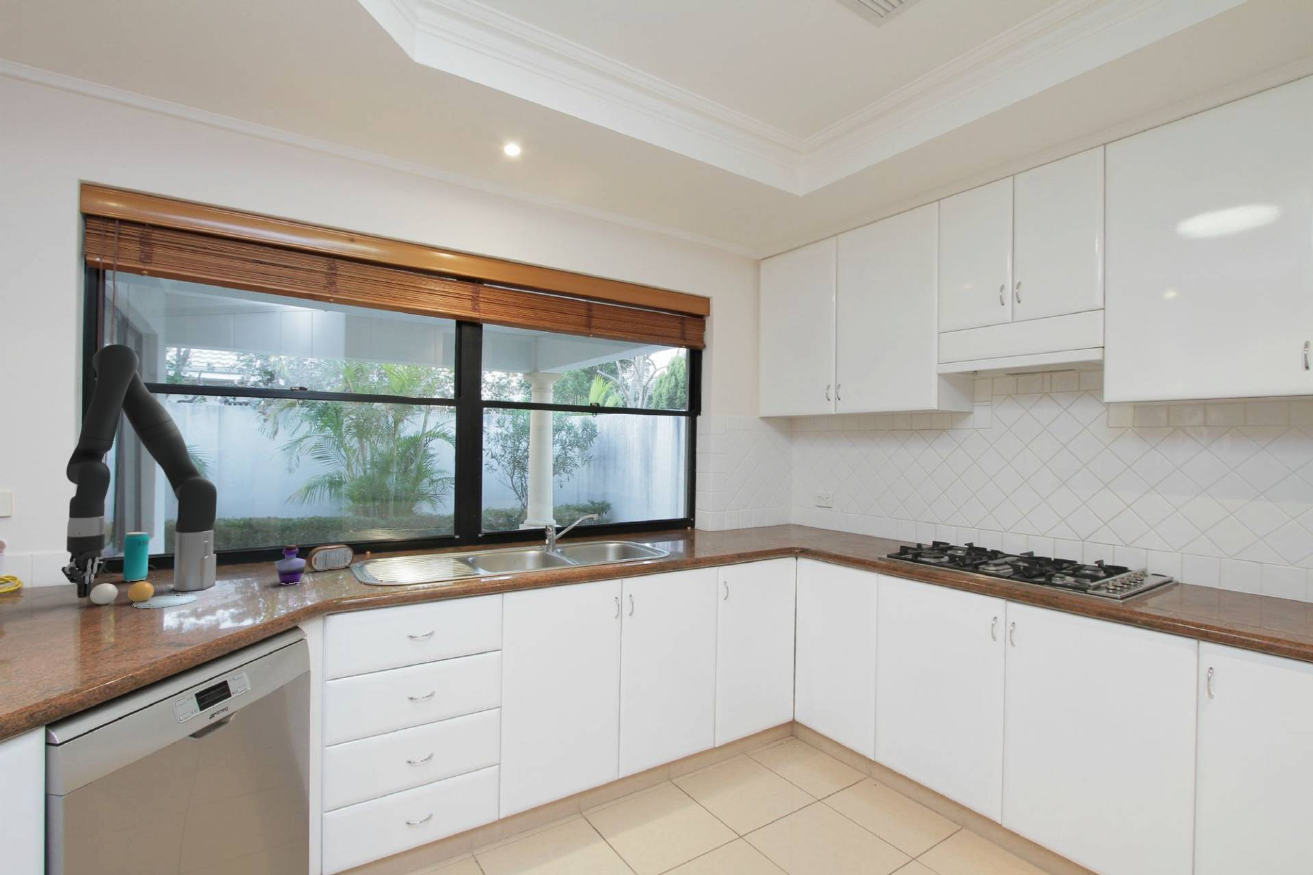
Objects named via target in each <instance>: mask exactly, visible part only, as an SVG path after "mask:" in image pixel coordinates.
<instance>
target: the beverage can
mask: <svg viewBox="0 0 1313 875" xmlns="http://www.w3.org/2000/svg"><path fill="white" fill-rule="evenodd" d="M125 535H126V536H125V537H124V545H123V546H124V547H123V548H124V550H123V578H124V581H125V582H126V581H127V582H126V583H131V582H130V581H137V580H144V581H145V580H146V578H147V577H148V572H149V568H148V567H149V546H150V545H149V544H150V542H149V541H150V540H149V539H150V537H149V535H148V532H147V531H133V532H130V531H129V532H126V533H125Z"/></svg>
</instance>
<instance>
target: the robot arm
mask: <svg viewBox="0 0 1313 875" xmlns="http://www.w3.org/2000/svg"><path fill="white" fill-rule="evenodd" d="M91 364H92V367H93V369H94V371H95V372H96V373H97V378H96V384H95V390H94V393H93V396H92V398H91V401H90V404H89V407H88V408H87V412H86V414H85V415H84V419H83V423H82V425H81V431H80V434H79V437H78V443H77V445H76V447H75V448H74V450H73V452H72V454H71V456H70V458H69V460H68V462H67V466H66V471H65V473H66V474H65V475H66V478H67V480H68V481H69V482H71V483H72V484H74V485H76V491H75V495H74V496H72V497H71V498H70V500H69V506H68V507H69V510H68V511H69V512H68V513H69V514H68V522H67V529H66V552H67V553H70V558H69V564H68V565H66V566H62V567H61V572H62V573H63V575H64V576H65V577H66V578H67V580H68V581H69V583H70V584H76V587H77V591H76V594H77V596H76V597H77V598H79V599H83V598H84V599H85V598H88V597H89V598H90V593H91V591H92V583H94V581H95V579H96V580H97V579H99V577H100V575H101V573H102V572H103V570H104V568H105V566H106V565H107V562H108V559H107V558H103V557H101V555H102V554H101V551H103V550H104V549H105V542H106V541H105V539H106V520H105V508H106V507H105V506H106V505H105V503H106V502H105V500H106V496H107V494H108V491H109V487H110V483H111V470H110V468H109V466H108V465H107V464H106V463H105V462H103V459H104V456H105V454H106V453H107V452H109V451H111V450H112V448H113V446H114V441H115V437H116V435H117V434H116V433H117V428H118V425H119V420H120V416H121V412H122V411H121V410H123V412H124V414H125V416H126V419H127V420H128V421H129V423H130V425H131V427H132V429H133V430H134V432H135V434H136V435H137V437H138V438H139V440H140V442H141V443H142V444H143V446H144V448H145V449H146V450H147V452H148V453H149V454H150V456H151V457H152V458H153V459H154V461H155V462H156V463H157V464H158V465H159V467H160V468H161V469H162V471H163V472H164V474H165V476H166V478H167V479H168V482H169V484H170V486H171V488H172V491H173V494H174V495H175V498H176V500H177V501H178V502H177V504H178V505H177V518H176V522H175V537H174V538H175V541H174V568H173V569H174V570H173V590H174V591H180V592H181V591H182V592H184V591H185V592H186V591H187V592H188V591H196V590H206V589H208V588H211V587H214V586H215V585H216V579H217V578H216V576H217V575H216V573H217V554H216V553H214V538H215V537H214V534H215V532H214V530H215V529H214V528H215V522H216V518H217V501H218V500H217V499H218V493H217V488H216V486H215V484H214V483H213V482H212V481H210V480H208V479H206V478H205V477H204V475H202V473H201V472H200V471H199V469H198V468H197V466H196V465H195V464H194V462H193V461H192V458H191V457H190V454H189V452H188V449H187V446H186V443H185V440H184V438H183V436H182V433H181V432H180V429H179V428H178V425H177V424H176V422H175V421H174V419H173V417H172V416H171V414H170V413H169V412H168V410H166V408H165V407H164V406H163V405H162V404H161V402H160V401H158V399H156V397H154V395H153V394H152V393H151V392H150V391H149V390H148V388H147V386H146V385H145V384H144V381H143V379H142V377H141V376H140V373H139V371H138V368H139V367H140V358H139V356H138V354H137V352H135V350H134V349H132V348H131V347H129V346H127V345H124V344H118V343H115V344H109V345H106V346H104V347H101V348H100V349H98V350H97V351H96V352H95V353H94V355H93V356H92V361H91Z"/></svg>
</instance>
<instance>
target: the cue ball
mask: <svg viewBox="0 0 1313 875" xmlns="http://www.w3.org/2000/svg"><path fill="white" fill-rule="evenodd" d="M118 593H119V591H118V588H117V587H116V586H115V585H114V584H111V583H108V582H107V583H105V582H104V583H100V584H97V585H96V586H94V587H93V588H91V593H90V596H89V598H90V600H91V601H92V602H93V603H94V604H96V605H107V604H110V603H112V602H113V601H114V600H115V599H116V598H117V595H118Z"/></svg>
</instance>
